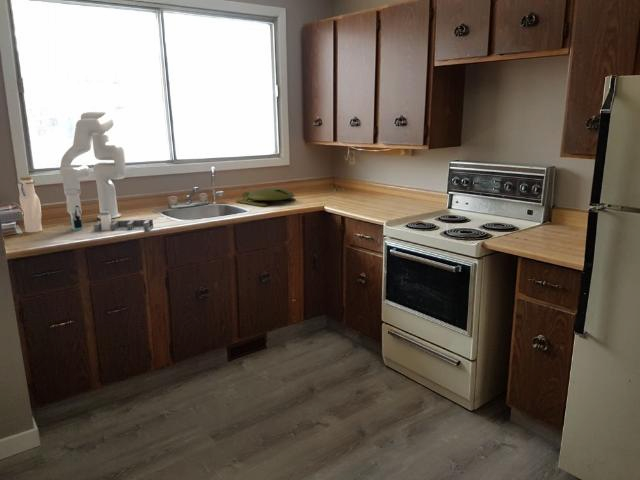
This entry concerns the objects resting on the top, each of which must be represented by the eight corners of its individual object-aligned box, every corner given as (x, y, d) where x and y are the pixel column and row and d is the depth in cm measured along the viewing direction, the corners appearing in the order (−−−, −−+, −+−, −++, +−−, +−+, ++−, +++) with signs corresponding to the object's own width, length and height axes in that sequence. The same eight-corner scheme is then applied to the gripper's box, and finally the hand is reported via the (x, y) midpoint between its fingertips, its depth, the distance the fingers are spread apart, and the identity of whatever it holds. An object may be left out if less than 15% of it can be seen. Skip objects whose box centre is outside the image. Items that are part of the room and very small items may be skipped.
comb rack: (98, 228, 268) (97, 221, 267) (153, 226, 272) (152, 219, 271) (91, 234, 257) (90, 226, 256) (149, 231, 260) (148, 223, 259)
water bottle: (41, 232, 261) (33, 178, 254) (21, 234, 259) (13, 178, 252) (45, 228, 271) (38, 175, 264) (26, 229, 268) (18, 176, 261)
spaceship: (234, 203, 341) (233, 188, 338) (268, 197, 363) (267, 183, 361) (270, 209, 318) (269, 193, 316) (304, 202, 340) (303, 187, 338)
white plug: (104, 228, 265) (101, 211, 262) (112, 227, 265) (110, 210, 263) (101, 229, 261) (99, 212, 258) (110, 229, 261) (108, 212, 259)
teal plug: (72, 231, 263) (70, 214, 261) (80, 230, 266) (78, 213, 264) (74, 232, 260) (72, 215, 258) (82, 231, 263) (80, 214, 260)
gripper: (60, 190, 262) (65, 225, 267) (68, 194, 249) (73, 230, 254) (76, 189, 267) (80, 223, 271) (84, 192, 254) (89, 228, 258)
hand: (77, 226), depth 262 cm, fingers closed on teal plug, 4 cm apart
